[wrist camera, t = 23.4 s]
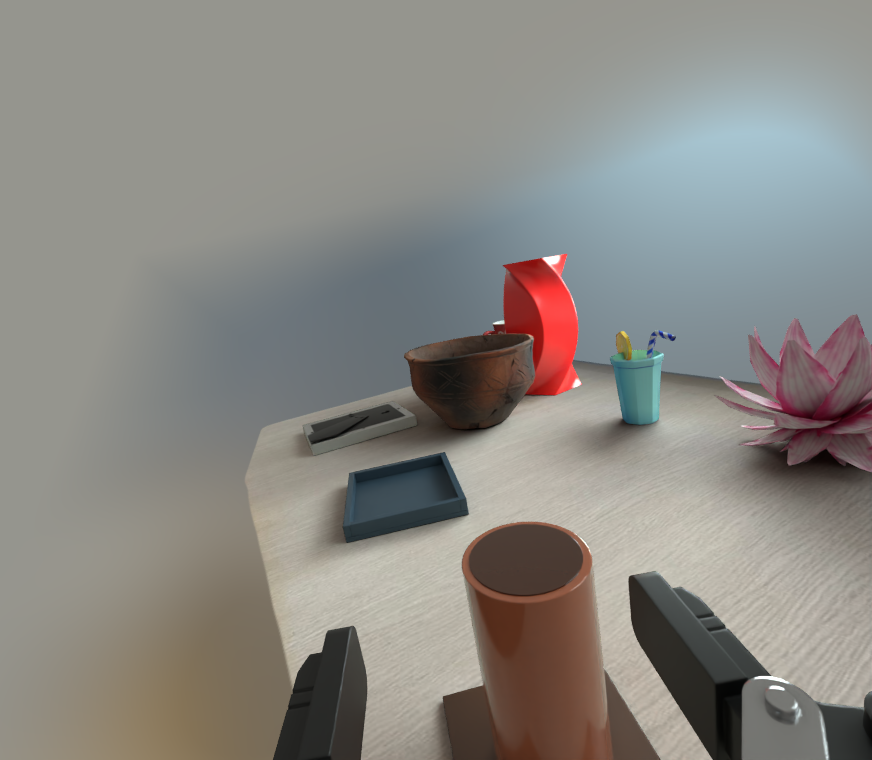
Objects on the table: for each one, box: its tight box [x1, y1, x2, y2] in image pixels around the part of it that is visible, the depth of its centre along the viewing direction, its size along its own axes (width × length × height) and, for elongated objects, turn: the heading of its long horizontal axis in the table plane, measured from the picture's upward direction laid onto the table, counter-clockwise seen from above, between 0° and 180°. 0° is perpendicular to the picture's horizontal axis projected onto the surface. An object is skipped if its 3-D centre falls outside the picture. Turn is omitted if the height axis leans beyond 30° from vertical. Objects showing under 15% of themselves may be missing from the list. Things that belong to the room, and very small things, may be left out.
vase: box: [503, 254, 581, 395], centre depth 97 cm, size 15×14×28 cm
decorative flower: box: [714, 315, 872, 472], centre depth 51 cm, size 21×21×15 cm
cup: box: [610, 330, 676, 425], centre depth 70 cm, size 14×8×15 cm, turn 16°
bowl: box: [404, 334, 535, 429], centre depth 85 cm, size 25×25×15 cm
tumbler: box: [462, 522, 614, 760], centre depth 24 cm, size 6×6×13 cm
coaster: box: [443, 669, 660, 760], centre depth 25 cm, size 11×11×1 cm
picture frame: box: [303, 401, 417, 456], centre depth 93 cm, size 16×3×21 cm
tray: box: [343, 452, 469, 543], centre depth 59 cm, size 15×16×2 cm
